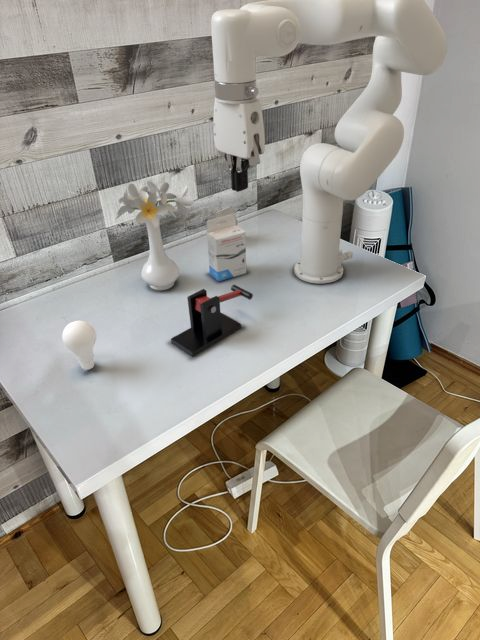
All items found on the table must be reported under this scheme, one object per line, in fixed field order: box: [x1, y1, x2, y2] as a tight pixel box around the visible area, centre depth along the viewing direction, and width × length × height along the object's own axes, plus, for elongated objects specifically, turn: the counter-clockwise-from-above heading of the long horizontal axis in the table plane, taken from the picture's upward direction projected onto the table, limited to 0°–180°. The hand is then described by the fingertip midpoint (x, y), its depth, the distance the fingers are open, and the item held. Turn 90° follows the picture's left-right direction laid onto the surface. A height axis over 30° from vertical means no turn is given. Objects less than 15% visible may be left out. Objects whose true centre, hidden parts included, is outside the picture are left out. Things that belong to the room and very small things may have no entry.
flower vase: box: [114, 180, 194, 291], centre depth 120 cm, size 13×18×25 cm
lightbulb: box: [61, 320, 97, 371], centre depth 98 cm, size 6×6×11 cm
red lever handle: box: [195, 284, 254, 312], centre depth 108 cm, size 13×6×2 cm, turn 136°
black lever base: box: [170, 288, 242, 358], centre depth 106 cm, size 14×7×10 cm, turn 136°
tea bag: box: [212, 205, 239, 227], centre depth 142 cm, size 4×7×10 cm, turn 140°
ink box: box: [206, 213, 247, 282], centre depth 126 cm, size 8×5×15 cm, turn 123°
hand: (240, 189), depth 104 cm, fingers closed
